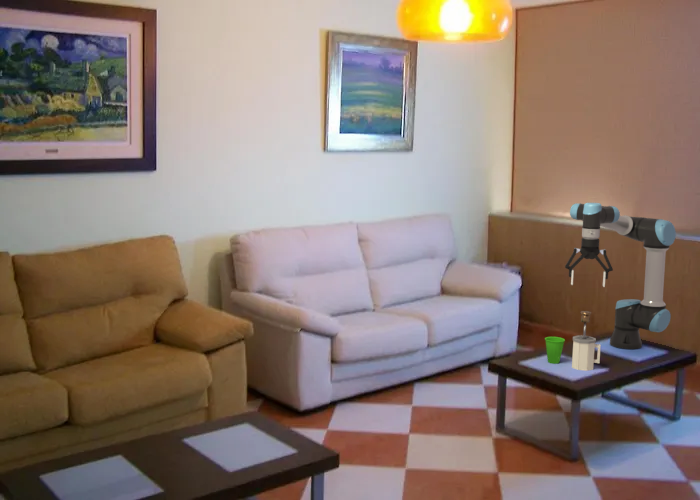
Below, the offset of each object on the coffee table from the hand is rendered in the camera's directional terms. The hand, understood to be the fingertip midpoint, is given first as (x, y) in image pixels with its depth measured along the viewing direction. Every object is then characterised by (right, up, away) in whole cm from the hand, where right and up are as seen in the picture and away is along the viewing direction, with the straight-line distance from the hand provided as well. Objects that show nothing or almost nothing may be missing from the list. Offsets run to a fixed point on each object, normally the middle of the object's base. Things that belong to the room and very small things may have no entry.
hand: (587, 285), depth 363 cm
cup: (-12, -36, +13) cm, 40 cm away
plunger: (-1, -34, +5) cm, 34 cm away
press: (0, -37, +5) cm, 38 cm away
